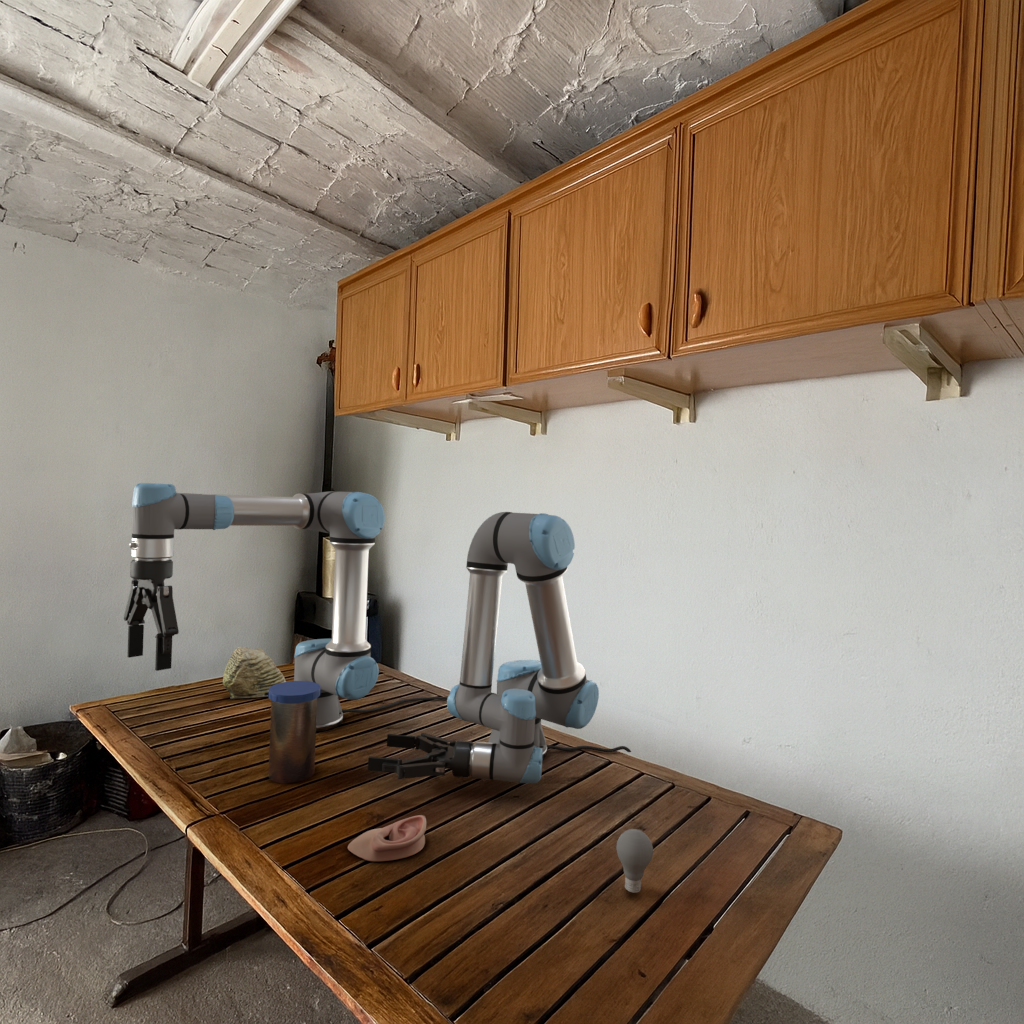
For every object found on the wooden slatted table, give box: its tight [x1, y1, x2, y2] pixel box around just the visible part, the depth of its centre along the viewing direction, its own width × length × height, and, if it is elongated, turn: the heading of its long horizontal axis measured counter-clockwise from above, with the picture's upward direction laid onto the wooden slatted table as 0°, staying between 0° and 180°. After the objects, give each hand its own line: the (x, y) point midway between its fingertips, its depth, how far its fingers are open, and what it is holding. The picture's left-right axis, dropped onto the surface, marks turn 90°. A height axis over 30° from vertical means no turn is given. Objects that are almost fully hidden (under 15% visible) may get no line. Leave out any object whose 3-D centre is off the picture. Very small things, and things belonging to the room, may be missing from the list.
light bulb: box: [615, 828, 654, 894], centre depth 106 cm, size 6×6×10 cm
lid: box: [267, 680, 321, 703], centre depth 144 cm, size 11×11×2 cm
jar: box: [268, 698, 317, 784], centre depth 144 cm, size 10×10×19 cm
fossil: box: [222, 646, 287, 699], centre depth 198 cm, size 9×18×15 cm, turn 132°
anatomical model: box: [347, 814, 427, 862], centre depth 116 cm, size 13×4×12 cm
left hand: (148, 662), depth 129 cm, fingers open, 13 cm apart
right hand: (378, 751), depth 142 cm, fingers open, 13 cm apart
